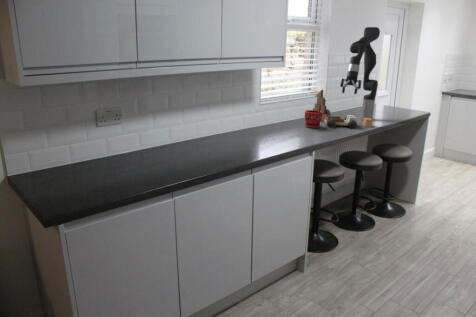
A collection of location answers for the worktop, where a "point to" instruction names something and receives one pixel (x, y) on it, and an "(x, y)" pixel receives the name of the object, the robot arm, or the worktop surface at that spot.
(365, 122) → the engine block
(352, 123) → the car chassis
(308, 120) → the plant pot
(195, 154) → the worktop surface
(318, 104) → the wooden toy
